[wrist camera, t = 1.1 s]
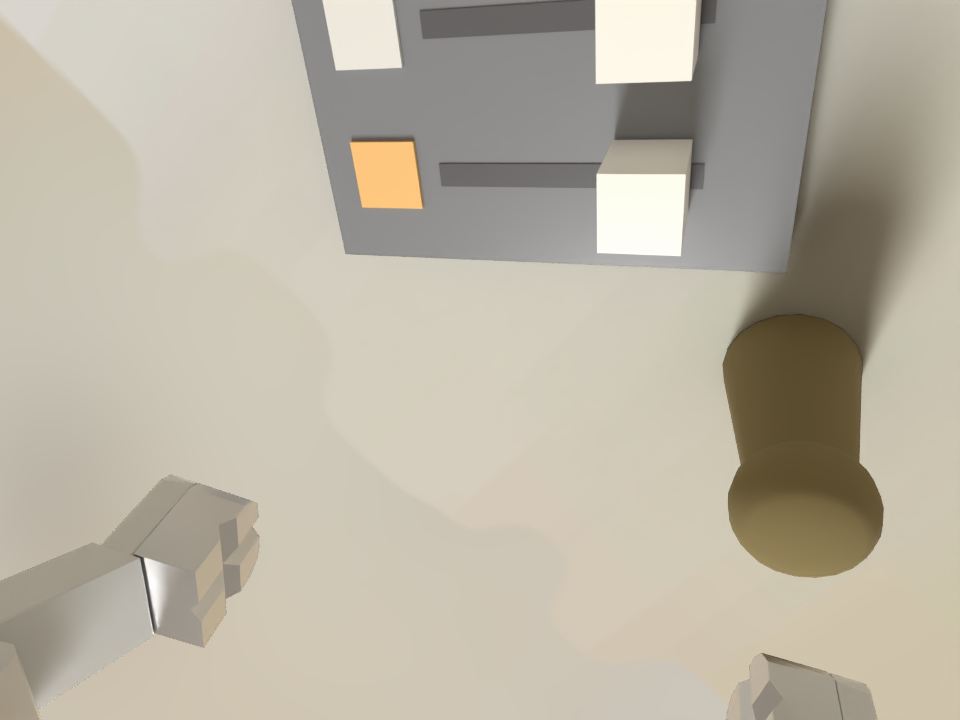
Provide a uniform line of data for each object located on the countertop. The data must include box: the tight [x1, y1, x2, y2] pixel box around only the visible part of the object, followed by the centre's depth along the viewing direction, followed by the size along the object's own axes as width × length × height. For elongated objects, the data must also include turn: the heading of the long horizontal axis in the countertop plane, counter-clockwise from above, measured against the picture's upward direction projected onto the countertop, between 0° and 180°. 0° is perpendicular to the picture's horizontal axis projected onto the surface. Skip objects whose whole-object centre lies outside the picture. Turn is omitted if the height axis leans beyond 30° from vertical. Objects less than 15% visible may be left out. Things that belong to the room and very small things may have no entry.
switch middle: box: [595, 0, 702, 84], centre depth 24 cm, size 3×3×4 cm
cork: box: [723, 314, 884, 578], centre depth 29 cm, size 6×6×11 cm
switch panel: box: [292, 0, 827, 273], centre depth 27 cm, size 20×20×2 cm
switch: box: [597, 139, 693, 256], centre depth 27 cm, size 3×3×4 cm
